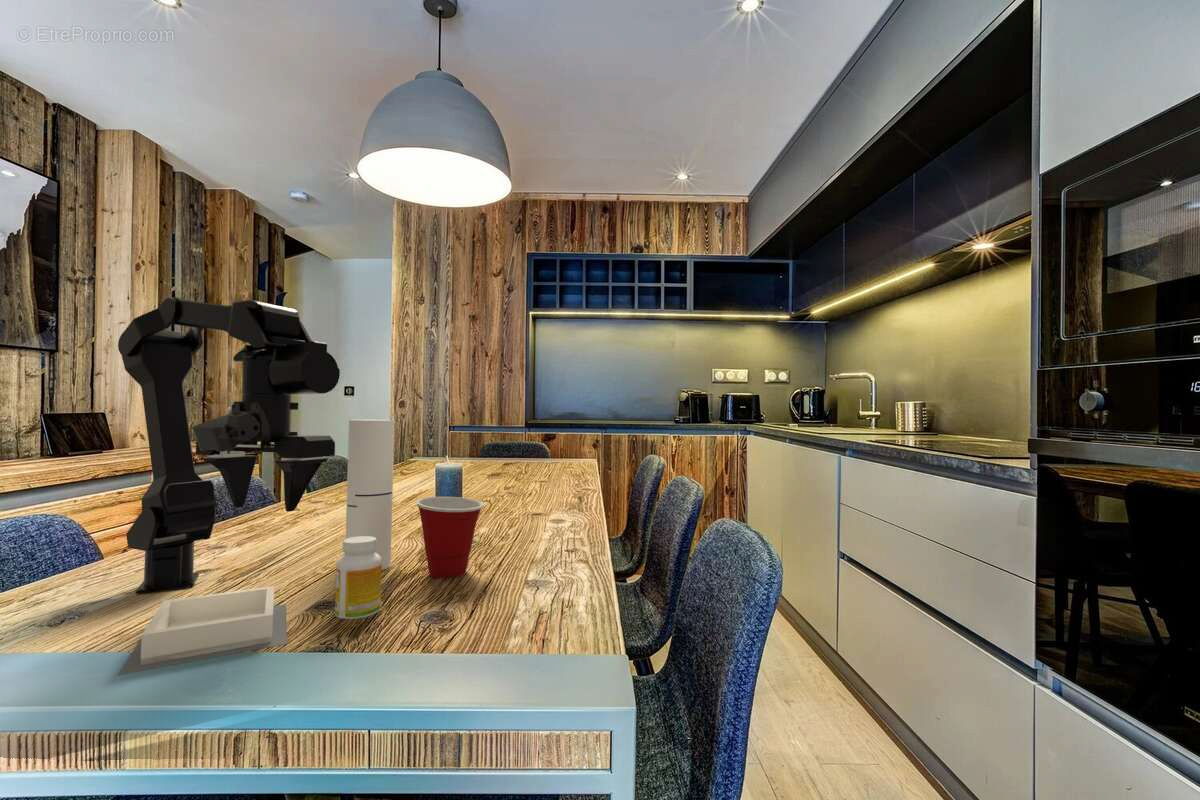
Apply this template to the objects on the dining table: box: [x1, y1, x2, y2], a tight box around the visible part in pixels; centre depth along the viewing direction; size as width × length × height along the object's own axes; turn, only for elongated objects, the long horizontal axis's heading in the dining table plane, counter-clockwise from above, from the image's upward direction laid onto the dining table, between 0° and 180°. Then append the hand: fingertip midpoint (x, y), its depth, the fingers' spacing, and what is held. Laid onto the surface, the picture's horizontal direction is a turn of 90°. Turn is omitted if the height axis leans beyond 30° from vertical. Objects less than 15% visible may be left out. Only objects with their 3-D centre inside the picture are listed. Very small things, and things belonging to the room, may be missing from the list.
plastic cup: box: [416, 496, 485, 579], centre depth 86 cm, size 11×11×12 cm
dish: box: [141, 585, 275, 665], centre depth 60 cm, size 11×11×3 cm
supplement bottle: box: [334, 536, 382, 620], centre depth 68 cm, size 5×5×10 cm
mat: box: [117, 604, 288, 676], centre depth 60 cm, size 14×14×1 cm
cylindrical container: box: [345, 419, 395, 571], centre depth 89 cm, size 7×7×25 cm
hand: (264, 509), depth 71 cm, fingers open, 9 cm apart
